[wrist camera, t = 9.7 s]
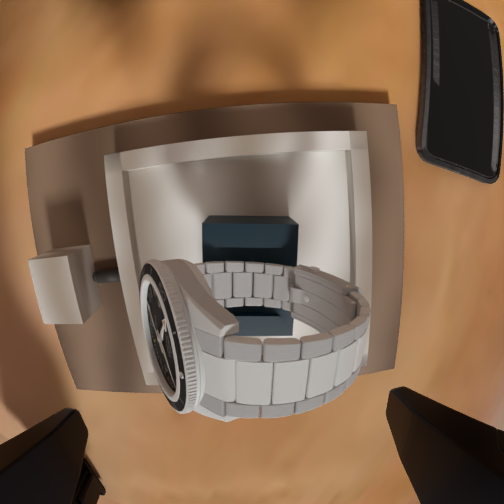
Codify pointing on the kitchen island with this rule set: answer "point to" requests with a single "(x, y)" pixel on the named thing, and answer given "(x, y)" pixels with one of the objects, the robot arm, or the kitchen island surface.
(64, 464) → the robot arm
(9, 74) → the kitchen island surface
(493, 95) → the phone
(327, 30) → the kitchen island surface
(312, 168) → the charging board
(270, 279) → the watch
